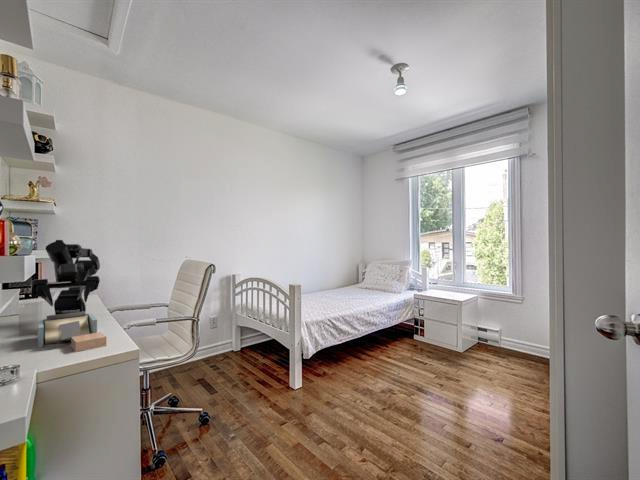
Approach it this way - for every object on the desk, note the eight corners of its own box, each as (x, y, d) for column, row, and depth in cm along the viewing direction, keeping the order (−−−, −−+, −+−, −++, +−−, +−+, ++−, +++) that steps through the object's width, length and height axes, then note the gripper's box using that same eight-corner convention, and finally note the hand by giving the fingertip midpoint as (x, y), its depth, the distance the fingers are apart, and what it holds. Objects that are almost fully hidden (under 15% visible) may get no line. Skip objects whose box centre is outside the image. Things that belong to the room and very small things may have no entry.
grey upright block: (57, 327, 103) (59, 324, 97) (76, 323, 106) (79, 320, 101) (59, 341, 102) (61, 340, 97) (78, 337, 106) (81, 335, 100)
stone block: (71, 346, 98) (71, 337, 98) (100, 340, 104) (100, 331, 104) (75, 351, 93) (75, 342, 93) (106, 345, 99) (106, 336, 99)
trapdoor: (43, 319, 107) (44, 316, 107) (87, 314, 116) (87, 310, 115) (44, 345, 100) (44, 341, 99) (90, 337, 109) (90, 334, 108)
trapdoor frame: (37, 337, 107) (38, 319, 108) (90, 329, 118) (91, 313, 118) (38, 347, 97) (38, 327, 97) (96, 337, 107) (97, 319, 108)
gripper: (32, 256, 101) (35, 292, 94) (98, 255, 115) (106, 286, 108) (29, 277, 106) (32, 313, 99) (93, 274, 120) (100, 304, 113)
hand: (69, 303), depth 104 cm, fingers open, 9 cm apart
